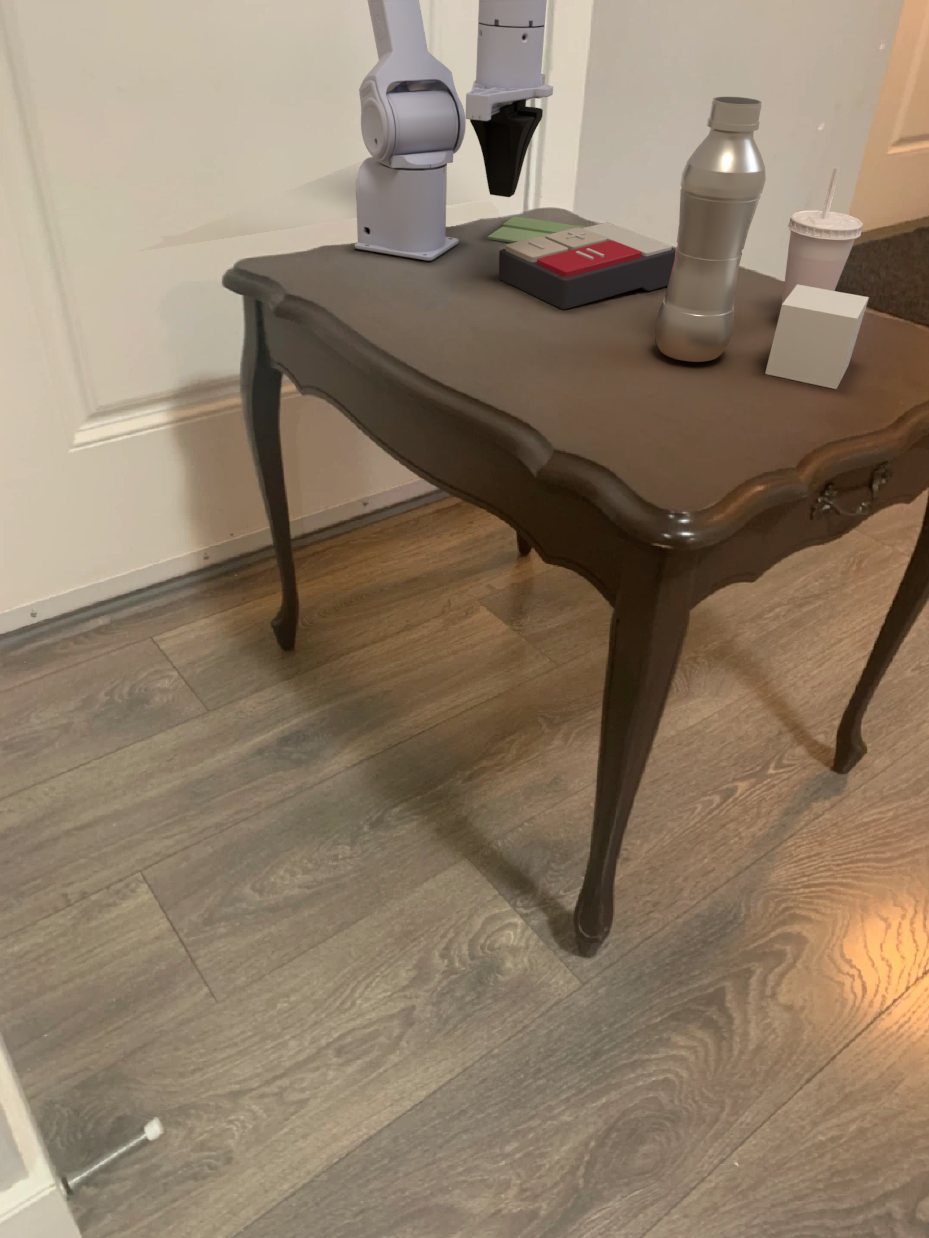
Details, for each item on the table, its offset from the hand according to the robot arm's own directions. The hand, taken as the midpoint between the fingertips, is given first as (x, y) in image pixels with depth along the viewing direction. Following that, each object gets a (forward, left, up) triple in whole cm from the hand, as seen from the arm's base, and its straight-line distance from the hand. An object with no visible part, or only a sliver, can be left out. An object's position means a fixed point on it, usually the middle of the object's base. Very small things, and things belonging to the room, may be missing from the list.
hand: (502, 194), depth 88 cm
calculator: (+7, +8, -10) cm, 14 cm away
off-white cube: (+31, -5, -10) cm, 33 cm away
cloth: (-1, +22, -9) cm, 24 cm away
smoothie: (+29, +6, -10) cm, 31 cm away
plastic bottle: (+21, -7, -10) cm, 24 cm away
